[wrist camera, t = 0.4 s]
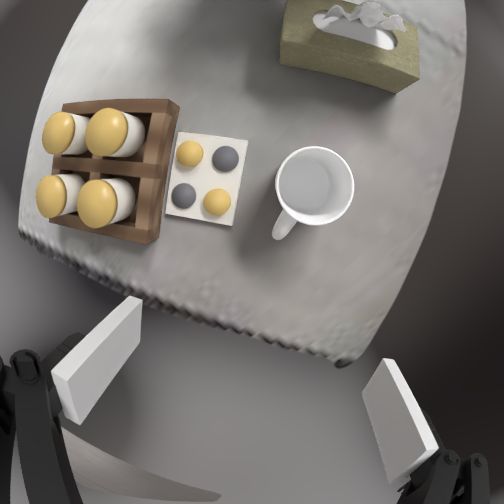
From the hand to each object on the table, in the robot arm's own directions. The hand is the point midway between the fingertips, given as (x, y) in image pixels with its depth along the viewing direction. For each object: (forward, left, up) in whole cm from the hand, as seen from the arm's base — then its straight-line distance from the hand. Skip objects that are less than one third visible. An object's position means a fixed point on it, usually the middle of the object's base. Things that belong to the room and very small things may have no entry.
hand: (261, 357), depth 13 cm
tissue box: (-31, +6, -28) cm, 42 cm away
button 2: (-2, -31, -23) cm, 39 cm away
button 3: (-11, -22, -23) cm, 34 cm away
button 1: (-11, -31, -23) cm, 40 cm away
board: (-7, -26, -27) cm, 39 cm away
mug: (-7, +3, -28) cm, 28 cm away
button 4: (-2, -22, -23) cm, 32 cm away
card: (-7, -10, -27) cm, 30 cm away
